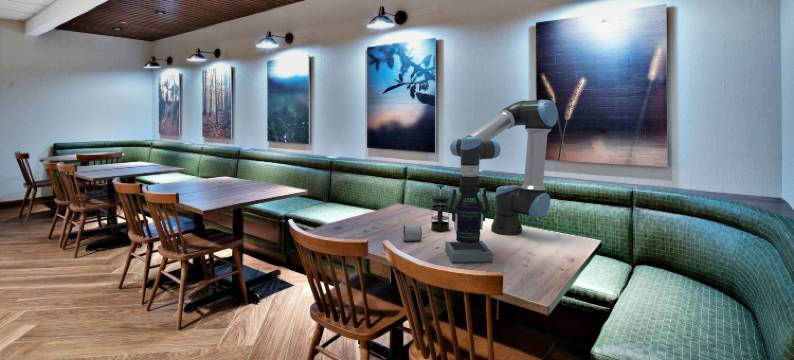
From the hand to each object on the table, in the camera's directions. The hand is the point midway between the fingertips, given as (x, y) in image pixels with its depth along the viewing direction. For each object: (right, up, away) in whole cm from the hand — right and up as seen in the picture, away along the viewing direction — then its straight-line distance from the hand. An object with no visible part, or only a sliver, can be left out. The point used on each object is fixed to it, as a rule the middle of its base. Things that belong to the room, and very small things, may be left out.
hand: (468, 228), depth 171 cm
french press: (-7, -6, +42) cm, 43 cm away
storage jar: (0, -5, +1) cm, 5 cm away
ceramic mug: (-23, -8, +26) cm, 35 cm away
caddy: (0, -12, +2) cm, 12 cm away
